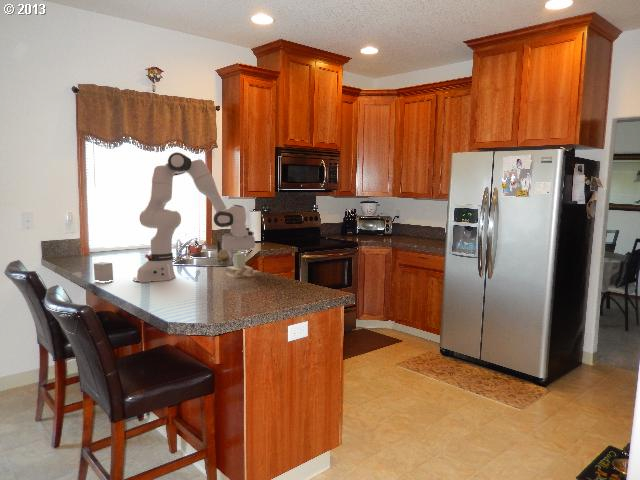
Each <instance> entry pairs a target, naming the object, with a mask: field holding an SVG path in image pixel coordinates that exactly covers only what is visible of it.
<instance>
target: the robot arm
mask: <svg viewBox="0 0 640 480" xmlns="http://www.w3.org/2000/svg"><path fill="white" fill-rule="evenodd" d="M152 171H153V172H152V177H151V187H150V188H151V189H150V198H149V201H148V203H147V205H146V207H145V209H144V210H142V211H141V212H140V214H139V222H140V224H141V226H143V227H144V228H148V229H157V230H156V234H155V235H154V236H153V237H151V239H150V254H146V253H145V255H144V257H145V258H146V259H147V261H146V262H145V263H143V264H142V265H141V266H140V267H139V268H138V270H137V273H136V276H135V277H133V279H134V280H136V281H139V282H138V283H152V282H151V281H154V282H162V281H171V280H172V279H173V280H174V279H175V278H176V274H175V269H174V264H173V263H174V255H173V254H174V253H173V251H172V250H173V249H172V248H173V246H172V241H173V236H174V233H175V231H176V230H177V228H178V227H179V226H180V224H182V223H181V222H182V215H181V214H180V213H179V212H180V211H179V212H178V211H177V210H174V209H169V208H168V209H167V208H165V206H166V205H167V203H168V202H170V201H171V200H172V196H173V179H174V177H175V176H180V175H183V174H188V176H190V179H191V180H192V182H193V185H194V186H195V187H196V189H197V190H198V192H200V193H201V194H203V195H204V196H205V197H206V198H207V199H208V200H209V201H210V204H211V205H212V207H213V209H214V210H215V213H214V215H213V223H214V224H215V226H217V227H220V228H228V227H230V232H229V233H223V235H222V236H221V240H222V249H223V250H228V253H229V255H230V257H233V254H234V253H233V254H232V253H231V250H232V249H233V250H242V249H245V252H244V253H243V254H245V257H248V256H249V255H248V253H249V252H250V249H255V247H256V241H255V240H256V237H255V232H254V231H251V230H247V226H246V222H247V212H246V208H245V207H244V206H243V205H240V204H231V205H230V206H228V207H226V205H225V203H224V202H223V199H222V198H221V195H220V194H219V191H218V188H217V186H216V182H215V179H214V177H213V175H212V172H211V171H210V170H209V167H208V165H207V164H206V163H205V162H204V160H203V159H201V158H194V159H191V158H190V157H189V156H187V155H185V154H184V153H182V152H179V151H176V152H173V153H171V154H170V155H169V156H168V158H167V162H166V163H165V164H164V163H163V164H162V163H161V164H156V165H155V166H154V168H153V170H152ZM133 279H132V280H133ZM134 280H133V281H134ZM136 281H135V282H136Z"/></svg>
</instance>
